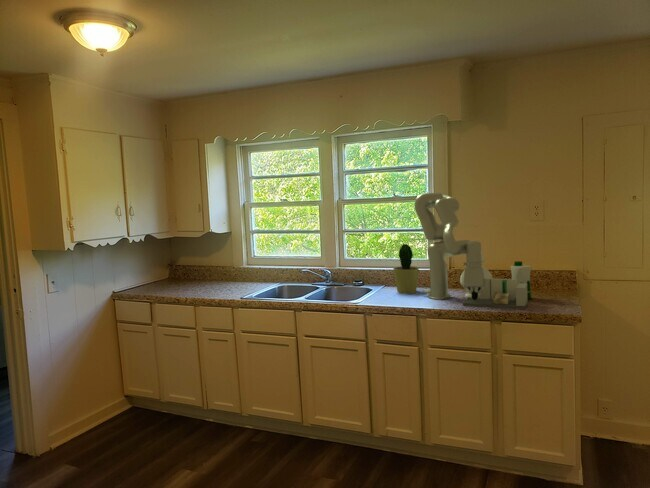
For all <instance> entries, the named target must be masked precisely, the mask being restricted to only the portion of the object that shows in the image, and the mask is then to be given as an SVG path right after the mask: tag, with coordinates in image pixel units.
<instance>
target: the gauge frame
mask: <svg viewBox="0 0 650 488" xmlns="http://www.w3.org/2000/svg"><path fill="white" fill-rule="evenodd" d="M503 282H504V285H505V293H508V294H509V300H510V301H509V303H508V304H496V303H493V293H494V292H495V291H496V292H497V293H503ZM462 304H463V305H462V306H465V307H466V306H467V307H481V308H482V307H483V308H497V309H498V308H501V309H515V308H518V309H519V310H526V308H527V306H526V305H528V300H527V283H519V284H518V285H517V279H512V278H493V279H488V278H485V289H481V298H477V299H476V300H473V298H470V297H467V298H466V299H465V300H464V301H463V303H462Z"/></svg>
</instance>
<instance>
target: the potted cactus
mask: <svg viewBox="0 0 650 488" xmlns="http://www.w3.org/2000/svg"><path fill="white" fill-rule="evenodd" d="M397 256H398V259H399V260H398V261H399V263H400V266H397V267H396V266H395V267H393V268H392V269H393V275H394V280H395V285H396V286H395V287H396V291H397V293H398V292H399V293H398V294H402V293H406V294H407V293H410V294H415V293H416V292H417V285H418V277H419V267H418V266H415V265H412V264H413V257H414V254H413V249H412V247H411V246H410V245H409V244H407V243H403V244H401V246H400V247H399V250H398V254H397ZM406 294H405V295H406Z"/></svg>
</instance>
